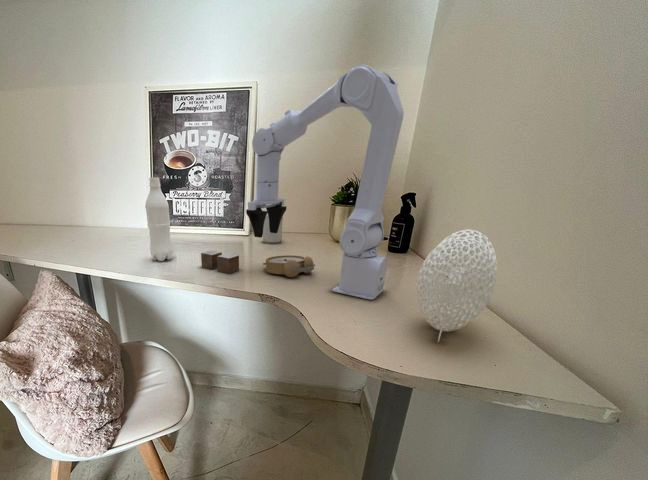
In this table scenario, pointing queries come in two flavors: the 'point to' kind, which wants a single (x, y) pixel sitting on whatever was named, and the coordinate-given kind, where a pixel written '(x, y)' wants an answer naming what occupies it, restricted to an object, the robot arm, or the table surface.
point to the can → (269, 236)
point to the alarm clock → (289, 265)
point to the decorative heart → (456, 280)
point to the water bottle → (158, 222)
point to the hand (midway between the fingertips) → (266, 234)
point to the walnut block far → (210, 259)
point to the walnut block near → (228, 263)
